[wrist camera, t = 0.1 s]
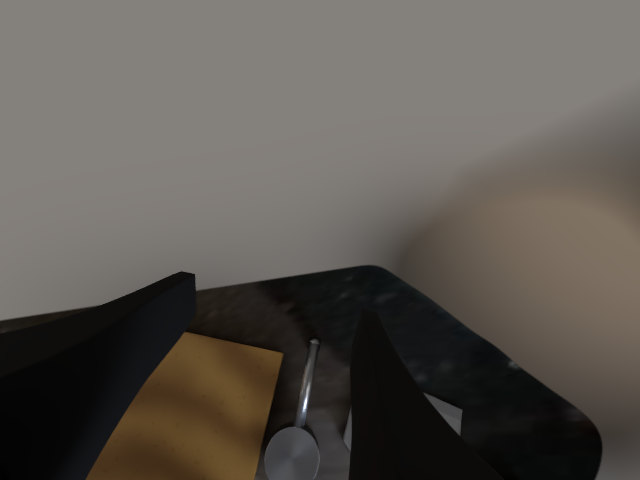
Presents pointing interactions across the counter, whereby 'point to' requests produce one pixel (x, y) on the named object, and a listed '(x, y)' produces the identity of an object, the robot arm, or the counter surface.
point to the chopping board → (195, 415)
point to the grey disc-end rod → (296, 434)
